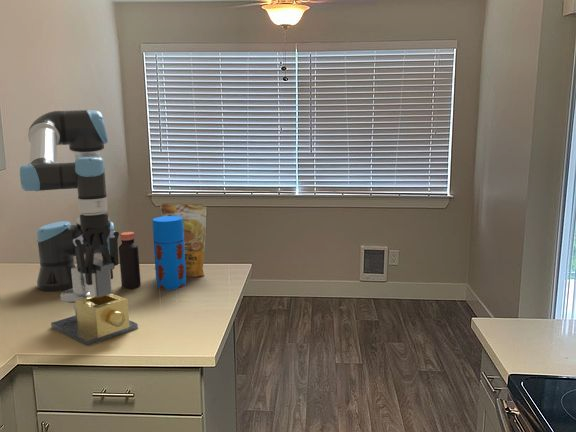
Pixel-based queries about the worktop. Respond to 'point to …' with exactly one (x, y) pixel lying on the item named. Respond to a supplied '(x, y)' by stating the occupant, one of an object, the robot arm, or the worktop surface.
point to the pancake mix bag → (191, 233)
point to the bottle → (129, 261)
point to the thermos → (169, 252)
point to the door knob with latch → (93, 314)
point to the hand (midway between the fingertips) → (100, 292)
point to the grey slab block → (102, 276)
